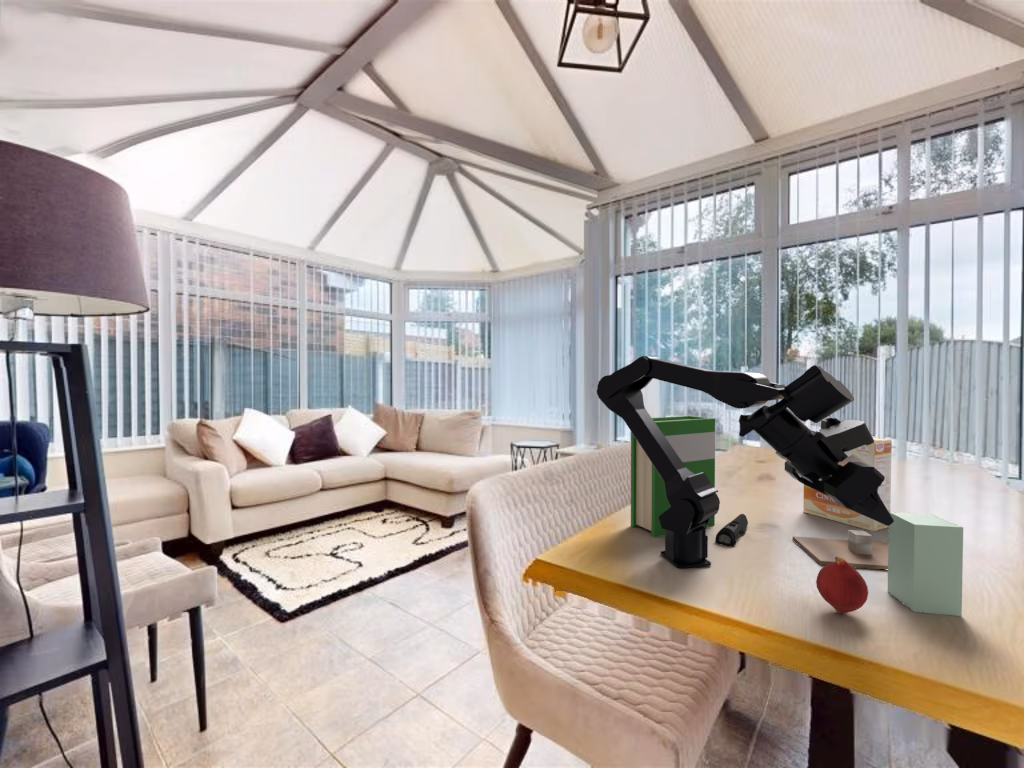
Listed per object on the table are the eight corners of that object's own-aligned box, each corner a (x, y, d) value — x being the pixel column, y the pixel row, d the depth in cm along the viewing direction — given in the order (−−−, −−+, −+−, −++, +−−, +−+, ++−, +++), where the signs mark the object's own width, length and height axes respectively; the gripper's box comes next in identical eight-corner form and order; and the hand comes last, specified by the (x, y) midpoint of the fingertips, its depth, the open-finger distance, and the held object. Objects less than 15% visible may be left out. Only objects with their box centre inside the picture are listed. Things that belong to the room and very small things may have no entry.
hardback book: (654, 537, 91) (655, 422, 91) (630, 526, 98) (631, 419, 98) (714, 524, 99) (715, 418, 98) (688, 515, 106) (689, 415, 105)
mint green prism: (913, 611, 63) (914, 524, 62) (887, 591, 68) (888, 512, 68) (961, 616, 61) (963, 527, 61) (931, 595, 67) (932, 514, 67)
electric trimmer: (752, 529, 98) (752, 514, 98) (734, 549, 86) (734, 533, 86) (734, 525, 100) (734, 511, 100) (713, 544, 88) (713, 528, 88)
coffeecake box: (802, 512, 107) (802, 432, 107) (819, 508, 110) (820, 431, 110) (873, 532, 94) (874, 441, 93) (891, 527, 97) (892, 439, 96)
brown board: (820, 565, 78) (820, 541, 78) (792, 540, 89) (792, 519, 89) (940, 574, 74) (941, 549, 74) (895, 547, 86) (895, 525, 86)
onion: (845, 601, 65) (845, 548, 65) (878, 623, 60) (879, 565, 59) (807, 602, 65) (807, 549, 65) (837, 624, 59) (837, 566, 59)
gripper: (867, 406, 58) (967, 494, 55) (805, 398, 76) (878, 464, 74) (800, 463, 59) (894, 551, 57) (755, 442, 78) (824, 508, 76)
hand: (871, 513), depth 66 cm, fingers open, 9 cm apart
